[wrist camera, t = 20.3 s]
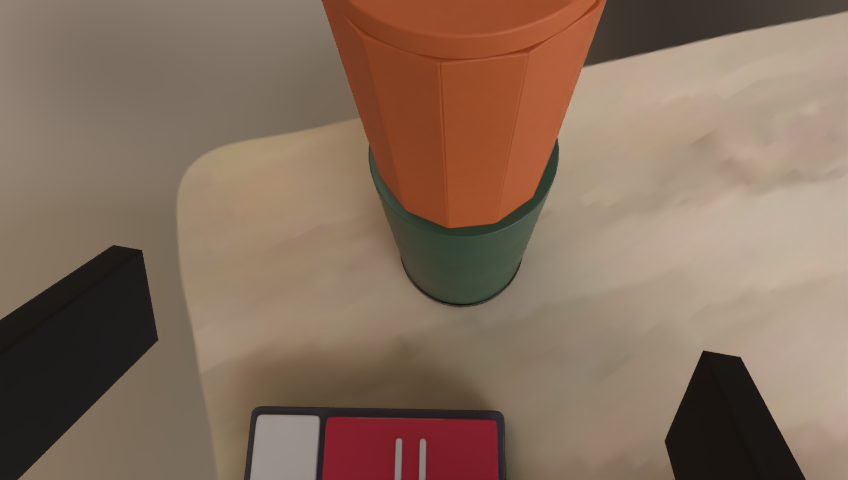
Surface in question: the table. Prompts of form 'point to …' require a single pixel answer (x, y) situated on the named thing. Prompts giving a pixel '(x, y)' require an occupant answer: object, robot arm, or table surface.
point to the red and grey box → (375, 444)
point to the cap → (462, 95)
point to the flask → (463, 246)
